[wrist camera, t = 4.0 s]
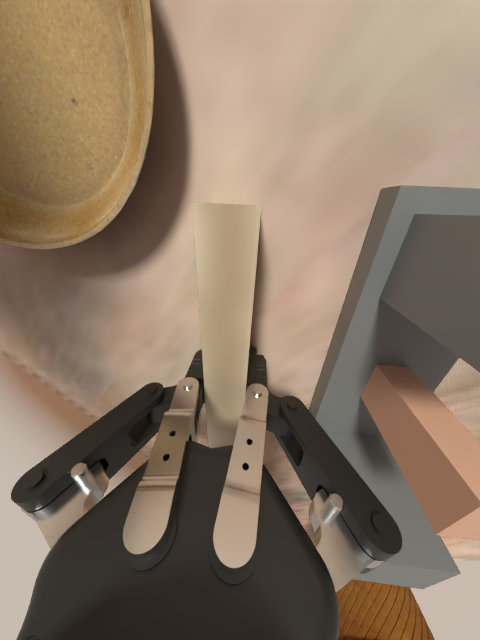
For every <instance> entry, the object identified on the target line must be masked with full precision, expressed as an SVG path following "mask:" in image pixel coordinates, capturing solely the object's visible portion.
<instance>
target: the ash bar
mask: <svg viewBox="0 0 480 640" xmlns="http://www.w3.org/2000/svg"><path fill="white" fill-rule="evenodd" d="M193 216H194V232H195V248H196V264H197V280H198V296H199V312H200V327H201V343H202V359H203V375H204V391H205V407H206V423H207V439H208V447H209V448H216V447H222V446H228V445H234V441H235V436H236V432H237V427H238V423H239V419H240V416H241V414H242V409H243V405H244V400H245V394H246V382H247V370H248V358H249V347H250V335H251V323H252V311H253V299H254V288H255V276H256V264H257V252H258V240H259V229H260V217H261V206H255V205H235V204H215V203H195V202H193Z"/></svg>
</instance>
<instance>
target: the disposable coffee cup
mask: <svg viewBox="0 0 480 640" xmlns="http://www.w3.org/2000/svg"><path fill="white" fill-rule="evenodd" d="M336 595H337V600H338V607H339V637H338V640H434V637H433V635H432V633H431V631H430V629H429V627H428V625H427V623H426V621H425V618H424V616H423V614H422V612H421V610H420V608H419V606H418V604H417V602H416V600H415V597H414V595H413V593H412V591H411V589H410V587H404V586H397V585H390V584H383V583H376V582H369V581H362V580H355V579H352V580H351V581H349V582H348V583H347V584H346V585H345V586H343V587H342V588H341V589H340V590H339V591H338V592H336Z"/></svg>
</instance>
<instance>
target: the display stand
mask: <svg viewBox="0 0 480 640" xmlns="http://www.w3.org/2000/svg"><path fill="white" fill-rule="evenodd" d="M459 357H460V358H461V359H463V360H464V361H465V362H467V363H468V364H469V365H471V366H472V367H473V368H475V369H476V370H478V371H479V372H480V189H473V188H449V187H425V186H395V187H389V188H383V189H382V190H381V193H380V196H379V199H378V202H377V205H376V208H375V211H374V214H373V217H372V220H371V223H370V226H369V229H368V232H367V235H366V238H365V241H364V244H363V247H362V250H361V253H360V256H359V259H358V262H357V265H356V268H355V271H354V274H353V277H352V280H351V283H350V287H349V290H348V293H347V296H346V299H345V302H344V305H343V308H342V311H341V314H340V317H339V320H338V323H337V326H336V329H335V332H334V335H333V338H332V341H331V344H330V347H329V350H328V353H327V356H326V359H325V362H324V365H323V368H322V371H321V374H320V377H319V380H318V383H317V386H316V390H315V393H314V396H313V399H312V402H311V405H310V408H309V412H310V413H311V414H312V416H313V417H314V418H315V419H316V421H317V422H318V423H319V424H320V426H321V427H322V428H323V430H324V431H325V432H326V433H327V435H328V436H329V437H330V438H331V440H332V441H333V442H334V444H335V445H336V446H337V447H338V449H339V450H340V451H341V452H342V454H343V455H344V456H345V458H346V459H347V460H348V461H349V463H350V464H351V465H352V466H353V468H354V469H355V470H356V472H357V473H358V474H359V475H360V477H361V478H362V479H363V480H364V482H365V483H366V484H367V486H368V487H369V488H370V489H371V491H372V492H373V493H374V494H375V496H376V497H377V498H378V500H379V501H380V502H381V503H382V505H383V506H384V507H385V508H386V510H387V511H388V512H389V514H390V515H391V516H392V517H393V519H394V520H395V522H396V523H397V525H398V527H399V529H400V532H401V536H402V548H401V550H400V551H399V552H398V553H397V554H396V555H394V556H393V557H391V558H390V559H388V560H387V561H385V562H384V563H382V564H381V565H379V566H378V567H376V568H375V569H373V570H372V571H370V572H369V573H367V574H361V573H359V574H358V575H357V576H355V577H354V578H353V579H355V580H362V581H369V582H376V583H383V584H390V585H397V586H404V587H411V588H418V589H424V588H426V587H429V586H431V585H434V584H436V583H439V582H441V581H444V580H446V579H449V578H451V577H453V576H456V575H458V574H460V571H459V569H458V567H457V566H456V564H455V562H454V560H453V558H452V557H451V555H450V553H449V551H448V549H447V548H446V546H445V544H444V542H443V540H442V539H441V537H440V535H441V536H448V537H456V538H464V539H472V540H479V541H480V442H479V441H478V440H477V439H476V438H475V437H474V436H473V435H472V434H471V432H470V431H469V430H468V429H467V428H466V427H465V426H464V425H463V424H462V423H461V422H460V421H459V420H458V419H457V418H456V417H455V416H454V415H453V414H452V412H451V411H450V410H449V409H448V408H447V407H446V406H445V405H444V404H443V403H442V402H441V401H440V400H439V399H438V398H437V397H436V396H435V395H434V393H433V392H434V390H435V389H436V388H437V386H438V385H439V384H440V382H441V381H442V380H443V378H444V377H445V376H446V374H447V373H448V372H449V370H450V369H451V368H452V366H453V365H454V364H455V362H456V361H457V360H458V358H459Z"/></svg>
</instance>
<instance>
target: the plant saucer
mask: <svg viewBox="0 0 480 640" xmlns="http://www.w3.org/2000/svg"><path fill="white" fill-rule="evenodd" d="M154 76H155V67H154V41H153V28H152V16H151V7H150V0H0V242H1V243H4V244H7V245H11V246H16V247H21V248H28V249H55V248H63V247H67V246H71V245H74V244H77V243H80V242H82V241H85V240H87V239H89V238H91V237H93V236H94V235H95V234H97V233H98V232H100V231H101V230H103V229H104V228H105V227H106V226H107V225H108V224H109V223H110V222H111V221H112V220H113V219H114V218H115V217H116V216H117V215H118V214H119V212H120V211H121V209H122V208H123V206H124V205H125V203H126V202H127V200H128V198H129V197H130V195H131V193H132V191H133V189H134V187H135V185H136V183H137V180H138V178H139V175H140V172H141V169H142V166H143V163H144V159H145V155H146V151H147V147H148V142H149V137H150V131H151V125H152V116H153V105H154Z"/></svg>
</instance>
